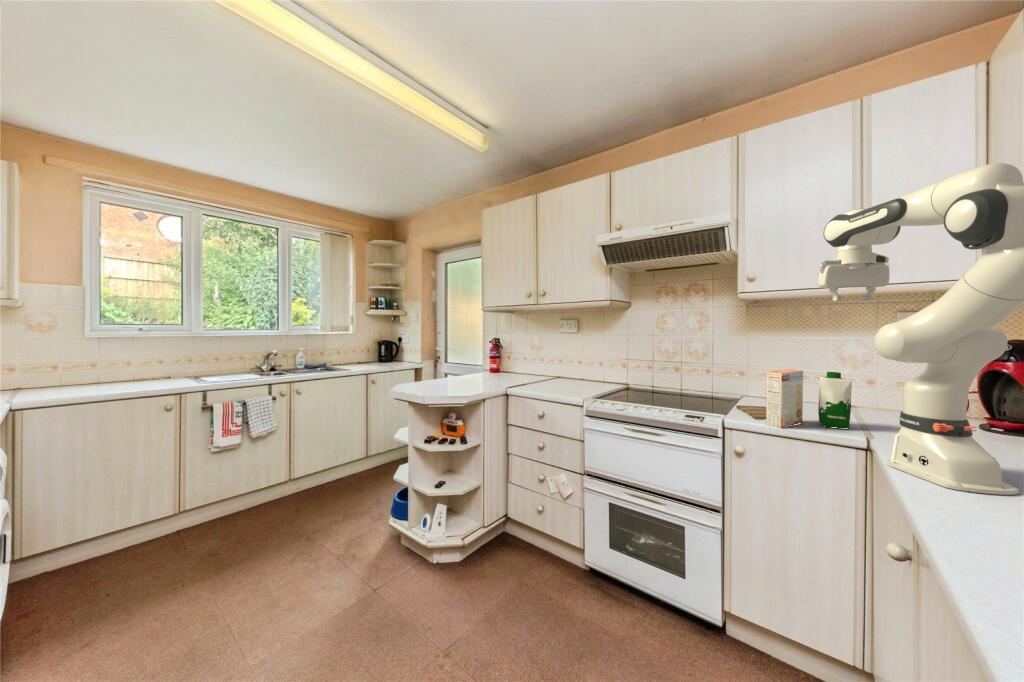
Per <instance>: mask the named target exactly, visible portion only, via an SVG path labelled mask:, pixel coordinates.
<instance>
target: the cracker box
mask: <svg viewBox="0 0 1024 682" xmlns="http://www.w3.org/2000/svg"><path fill="white" fill-rule="evenodd" d="M765 392H766V393H765V394H766V397H765V398H766V402H765V403H766V405H765V407H766V420H765V425H766V426H769V427H773V428H778V429H785V428H784V427H786V426H789V425H794V424H798V423H802V424H803V404H804V403H803V400H804V399H803V398H804V395H803V394H804V371H803V370H801V369H800V370H798V369H793V368H792V369H789V368H787V369H780V370H771V371H770V370H769V371H766V390H765ZM786 428H787V427H786Z"/></svg>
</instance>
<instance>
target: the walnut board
mask: <svg viewBox="0 0 1024 682" xmlns="http://www.w3.org/2000/svg"><path fill="white" fill-rule="evenodd" d="M735 408H736V409H737V408H738V410H739V409H740V410H741V412H742V411H743V413H744V412H745V413H747V414H748V415H747V414H746V415H747V416H749V415H750V416H752V417H753V418H752V417H751V418H752V419H754V418H755V419H754V420H764V419H766V406H761V405H760V406H759V405H757V406H756V405H736V406H735ZM740 410H739V411H740ZM745 413H744V414H745ZM750 416H749V417H750Z"/></svg>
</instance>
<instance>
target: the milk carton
mask: <svg viewBox="0 0 1024 682" xmlns="http://www.w3.org/2000/svg"><path fill="white" fill-rule="evenodd" d="M818 386H819V387H818V389H819V390H818V410H817V411H818V423H819V422H820V423H821V424H822V425H823V426H825V427H837V428H848V429H849V430H850V423H851V414H852V413H851V411H852V410H851V409H852V386H853V381H852V380H851V379H848V378H847V377H842V373H841V372H840V371H826V376H819V385H818ZM820 423H819V424H820ZM821 424H820V425H821ZM822 425H821V426H822ZM823 426H822V427H823Z"/></svg>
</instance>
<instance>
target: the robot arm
mask: <svg viewBox="0 0 1024 682" xmlns="http://www.w3.org/2000/svg"><path fill="white" fill-rule="evenodd" d="M939 225H943V226H944V229H945V231H946V232H947V233H948V235H949V236H951V237H952V238H953V239H954V240H956V241H958V242H960V243H961V244H962V246H963V247H964V248H965V249H967V250H973V251H974V250H981V254H980V257H979V258H978V259H977V261H976V262H975V263H974V264H973V265H972V266H971V267H970V268H968V270H967V271H965V273H964V274H963V275H962V276H961V277H960V278H959V279H958V280H957V281H956V282H955V283H954V284H953V285H952V286H951V287H950V288H949V289H948V290H947V291H946V292H945V293H944V294H943V295H941V297H939V298H938V299H937V300H936V301H934V302H932V303H930V304H929V305H927V306H925V307H924V308H922V309H921V310H919V311H917V312H915V313H913V314H911V315H909V316H906V317H905V318H903V319H900V320H897V321H894V322H892V323H887V324H885V325H883V326H882V327H880V328H879V329H878V330H877V332H876V334H875V335H874V339H873V345H874V348H875V350H876V352H877V353H878V355H880V356H881V357H882V358H883V359H886V360H890V361H896V362H900V363H906V364H907V363H908V364H913V363H914V364H926V363H927V364H926V366H925V368H924V369H923V371H922V373H919V375H917V376H915V377H913V378H911V379H909V380H908V381H906V383H905V384H904V387H903V393H902V394H903V396H902V397H903V398H902V400H903V401H902V411H900V413H899V418H898V419H899V425H900V429H899V431H898V432H897V433H896V434H895V436H894V440H893V446H892V451H891V456H890V459H887V460H886V465H887V466H888V467H892V468H894V469H897V470H899V471H903V472H904V473H906V474H909V475H912V476H915V477H918V478H920V479H923V480H925V481H927V482H930V483H933V484H935V485H938V486H940V487H943V488H946V489H952V490H957V491H961V490H962V491H963V492H968V491H969V493H979V494H986V495H988V494H989V495H1001V496H1002V495H1005V496H1008V495H1009V496H1012V495H1018V494H1019V493H1020V490H1019V488H1017V487H1015V486H1013V485H1011V484H1009V483H1008V482H1005V481H1003V478H1002V467H1001V465H1000V463H999V461H997V458H995V457H994V456H992V455H991V454H990V453H989V452H988V451H987V450H986V449H985V448H984V447H983V446H982V445H981V444H979V442H977V441H976V440H975V439H974V437H973V432H977V430H975V429H977V428H978V427H977V426H971V425H970V422H969V420H968V419H967V406H968V399H969V393H970V389H971V386H972V384H973V382H974V380H975V378H976V377H977V376H978V374H979V373H980V372H981V370H982V369H983V368H985V367H986V366H987V365H989V364H990V363H991V362H993V361H994V360H997V359H999V358H1000V357H1001V356H1002V355H1003V354H1004V353H1005V351H1006V350H1007V348H1008V337H1007V335H1006V333H1005V332H1004V330H1003V329H1001V327H999V326H997V325H998V324H1001V323H1002V322H1004V321H1006V319H1008V318H1009V317H1010V316H1011V315H1012V314H1014V312H1016V311H1017V310H1018V309H1019V308H1020V307H1022V306H1023V305H1024V177H1023V174H1022V172H1021V171H1020V170H1019V168H1018V167H1016V166H1014V165H1012V164H1010V163H1004V162H996V163H995V162H993V163H989V164H984V165H981V166H977V167H974V168H969V169H967V170H964V171H961V172H958V173H956V174H953V175H950V176H948V177H946V178H944V179H942V180H940V181H937V182H935V183H932V184H930V185H927V186H925V187H923V188H920V189H917V190H916V191H913V192H912V191H911V192H910V193H907V194H905V195H902V196H899V197H897V198H895V199H891V200H888V201H886V202H882V203H879V204H877V205H876V204H875V206H871V207H869V208H856V209H853V210H848V211H847V212H845V213H843V214H841V213H840V214H837V215H836V216H834V217H833V218H832V219H830V220H829V221H828V222H827V223H826V225H825V226H824V229H823V238H824V240H825V242H826V243H827V244H828V245H830V246H831V247H832V248H837V250H836V257H835V258H836V259H833V260H829V259H827V260H825V261H823V262H821V263H820V264H819V265H820V266H819V275H818V280H817V287H819V288H821V289H825V288H826V289H827V288H829V289H828V290H829V293H830V294H831V296H832V301H833V302H840V301H842V295H841V294H840V295H839V293H838V291H839V288H865V291H866V293H865V294H863V295H862V297H861V298H862V301H864V302H867V301H871V300H872V296H873V294H874V293H875V292H876V288H883V287H887V286H888V284H889V283H890V268H889V265H888V263H889V259H890V258H889V257H888V256H886V255H883V254H879V253H876V252H873V248H872V246H873V245H874V246H877V245H878V246H879V245H884V244H889V243H890V242H892V241H893V240H895V239H896V238H897V237H898V236H899V233H900V231H901V229H902V228H901V227H908V226H909V227H912V226H913V227H924V226H926V227H927V226H939ZM962 491H961V492H962Z"/></svg>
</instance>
